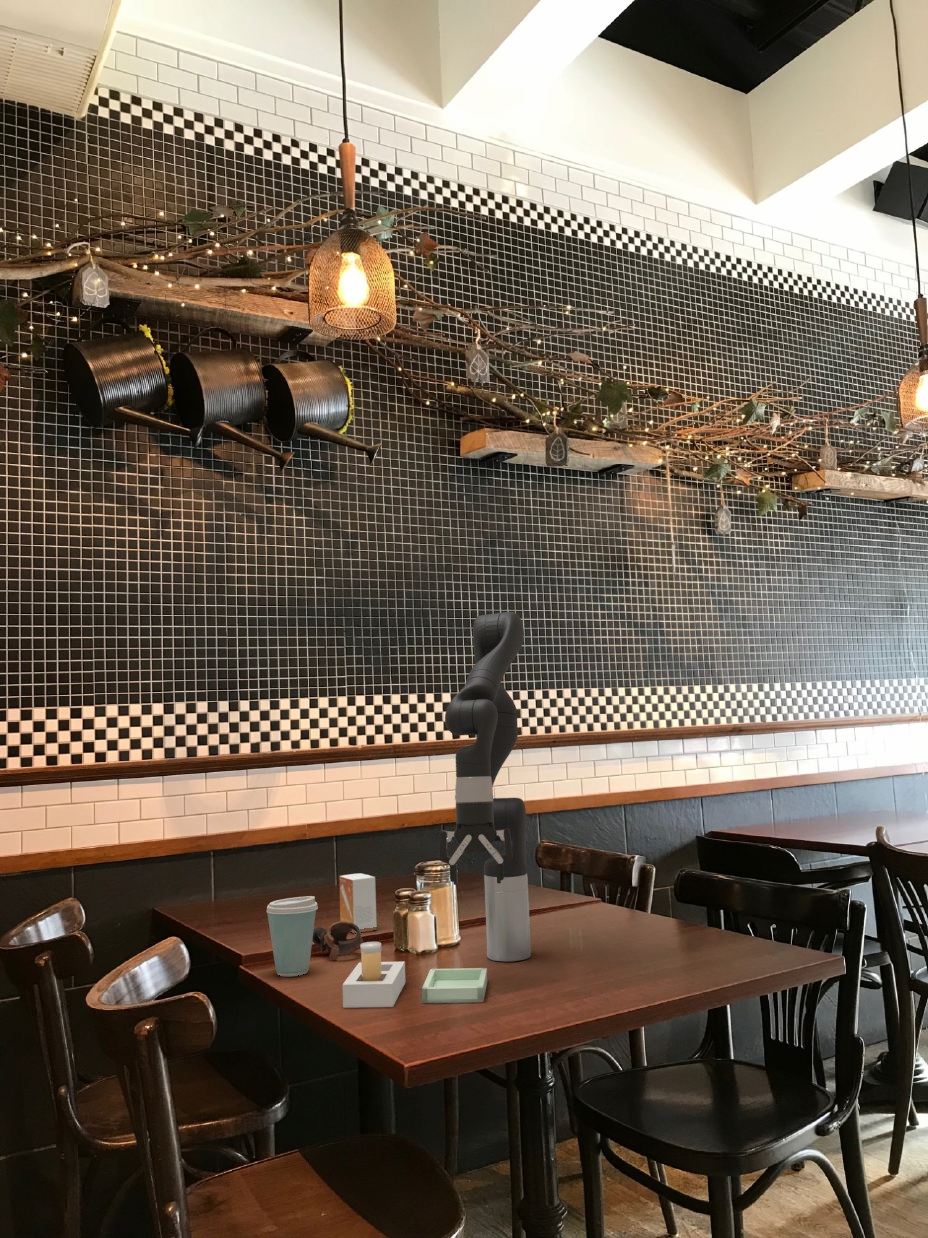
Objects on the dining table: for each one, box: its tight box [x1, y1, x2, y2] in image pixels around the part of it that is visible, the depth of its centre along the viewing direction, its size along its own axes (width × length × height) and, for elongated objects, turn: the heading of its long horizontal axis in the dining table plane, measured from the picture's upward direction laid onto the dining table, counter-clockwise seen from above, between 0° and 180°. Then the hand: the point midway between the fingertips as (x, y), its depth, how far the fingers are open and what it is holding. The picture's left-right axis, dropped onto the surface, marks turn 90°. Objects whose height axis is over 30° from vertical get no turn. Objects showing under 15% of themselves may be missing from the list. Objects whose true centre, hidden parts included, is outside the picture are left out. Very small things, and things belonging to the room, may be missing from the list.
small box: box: [338, 872, 378, 930], centre depth 241 cm, size 8×6×13 cm
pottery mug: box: [312, 920, 365, 961], centre depth 215 cm, size 12×10×8 cm
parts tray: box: [421, 967, 489, 1004], centre depth 183 cm, size 14×11×2 cm
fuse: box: [359, 941, 382, 981], centre depth 180 cm, size 4×4×10 cm
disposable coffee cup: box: [266, 895, 319, 978], centre depth 202 cm, size 11×11×15 cm
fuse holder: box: [342, 961, 406, 1009], centre depth 183 cm, size 16×9×4 cm, turn 175°
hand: (477, 884), depth 193 cm, fingers open, 8 cm apart
